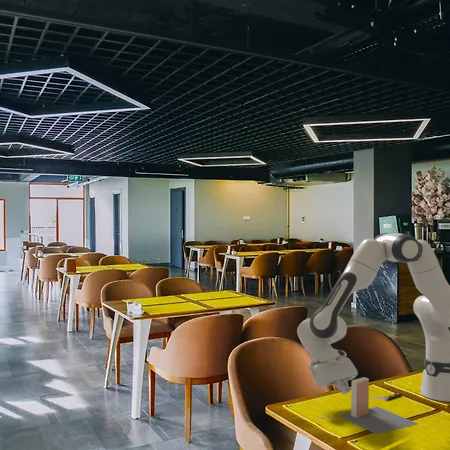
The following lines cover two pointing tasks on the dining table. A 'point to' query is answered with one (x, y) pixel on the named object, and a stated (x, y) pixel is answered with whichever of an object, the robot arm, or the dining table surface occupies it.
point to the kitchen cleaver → (389, 397)
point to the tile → (360, 397)
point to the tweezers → (323, 418)
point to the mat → (379, 420)
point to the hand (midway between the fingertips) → (347, 392)
